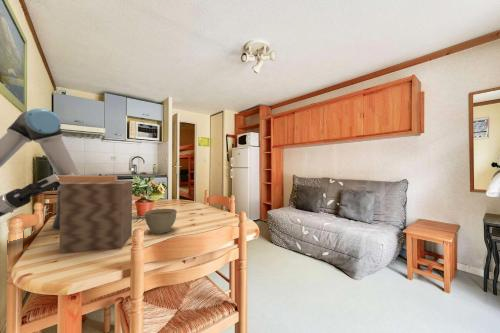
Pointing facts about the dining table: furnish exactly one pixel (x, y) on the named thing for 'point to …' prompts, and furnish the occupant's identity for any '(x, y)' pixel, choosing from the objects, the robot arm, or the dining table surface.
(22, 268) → the dining table surface
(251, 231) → the dining table surface
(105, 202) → the walnut stand
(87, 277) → the dining table surface
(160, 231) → the planter bowl
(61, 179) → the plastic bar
